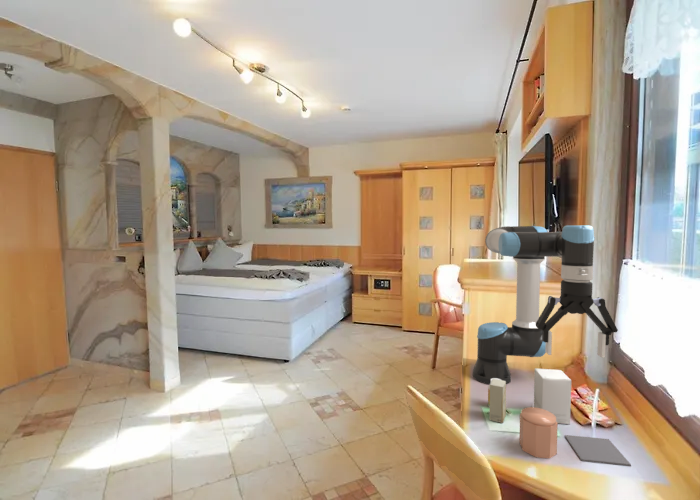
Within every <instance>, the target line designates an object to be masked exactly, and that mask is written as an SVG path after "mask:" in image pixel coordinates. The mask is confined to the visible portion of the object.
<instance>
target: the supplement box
mask: <svg viewBox="0 0 700 500" xmlns="http://www.w3.org/2000/svg"><path fill="white" fill-rule="evenodd" d="M533 378H534V379H533V380H534V385H533V386H534V387H533V390H534V391H533V407H535V408H540V409H544V410H547V411H549V412H551V413H552V414H554V415H555V417H556V421H557V423H558V424H564V425H571V406H572V405H571V403H572V402H571V401H572V400H571V399H572V398H571V397H572V379H571V378H569V376H568V375H567V374H565V373H564V371H562V370H561V369H549V368H548V369H547V368H537V367H536V368H535V367H534V376H533Z"/></svg>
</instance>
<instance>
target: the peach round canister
mask: <svg viewBox="0 0 700 500" xmlns="http://www.w3.org/2000/svg"><path fill="white" fill-rule="evenodd" d="M558 424H559V423H557V421H556V417H555V415H554V414H552V413H551V412H549V411H547V410H544V409H540V408H535V407H534V406H532V407H531V406H530V407H524V408H522V409H521V411H520V413H519V445H520V448H521V449H522V451H523V452H525V453H527V454H528V455H531V456H533V457H534V458H540V459H548V460H549V459H552V458H553V457H554V456H556V455H558Z"/></svg>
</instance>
